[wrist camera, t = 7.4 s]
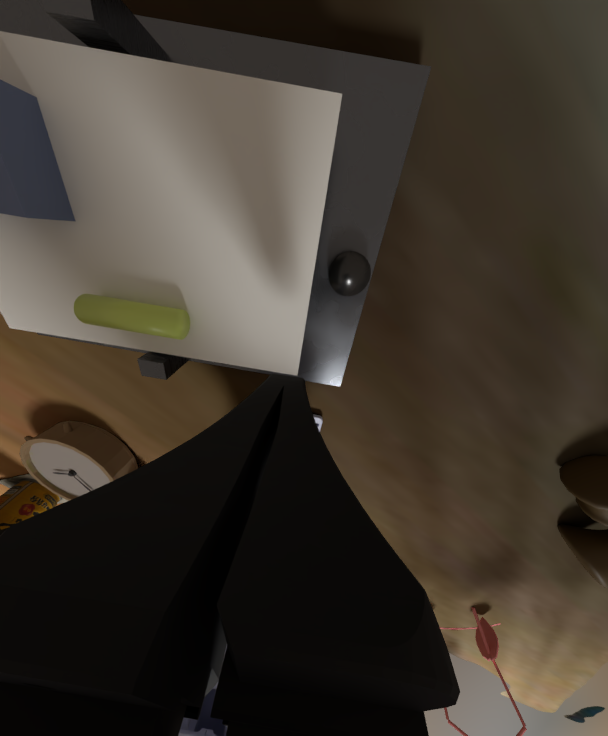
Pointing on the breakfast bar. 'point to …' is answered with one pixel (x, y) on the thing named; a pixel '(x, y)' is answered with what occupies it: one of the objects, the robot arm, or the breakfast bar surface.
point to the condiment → (24, 500)
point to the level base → (349, 162)
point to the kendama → (589, 513)
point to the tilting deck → (159, 203)
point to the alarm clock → (76, 458)
